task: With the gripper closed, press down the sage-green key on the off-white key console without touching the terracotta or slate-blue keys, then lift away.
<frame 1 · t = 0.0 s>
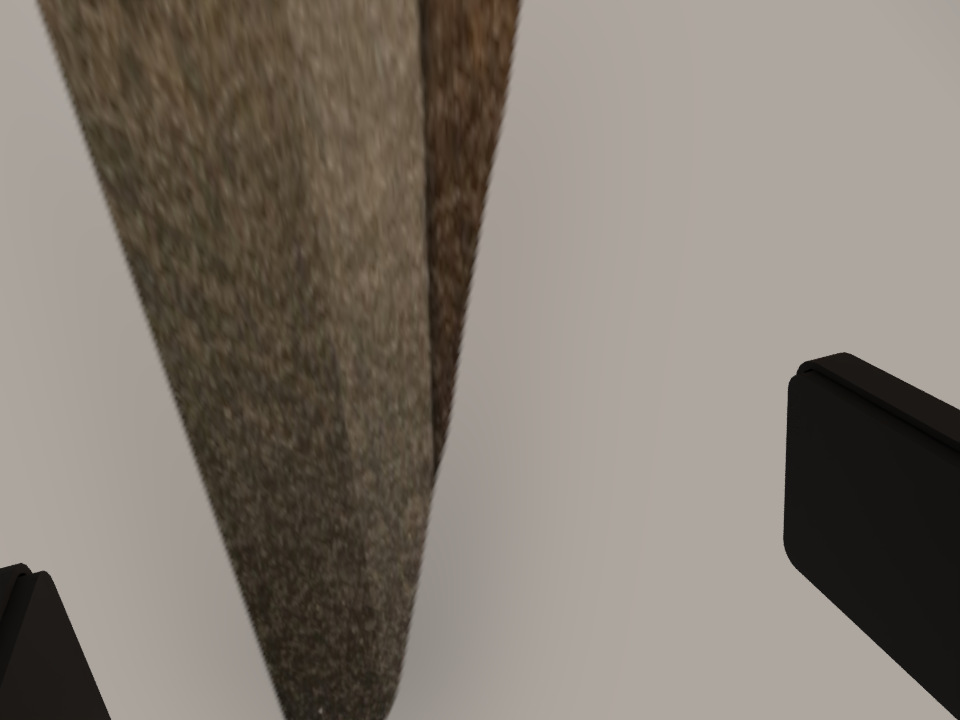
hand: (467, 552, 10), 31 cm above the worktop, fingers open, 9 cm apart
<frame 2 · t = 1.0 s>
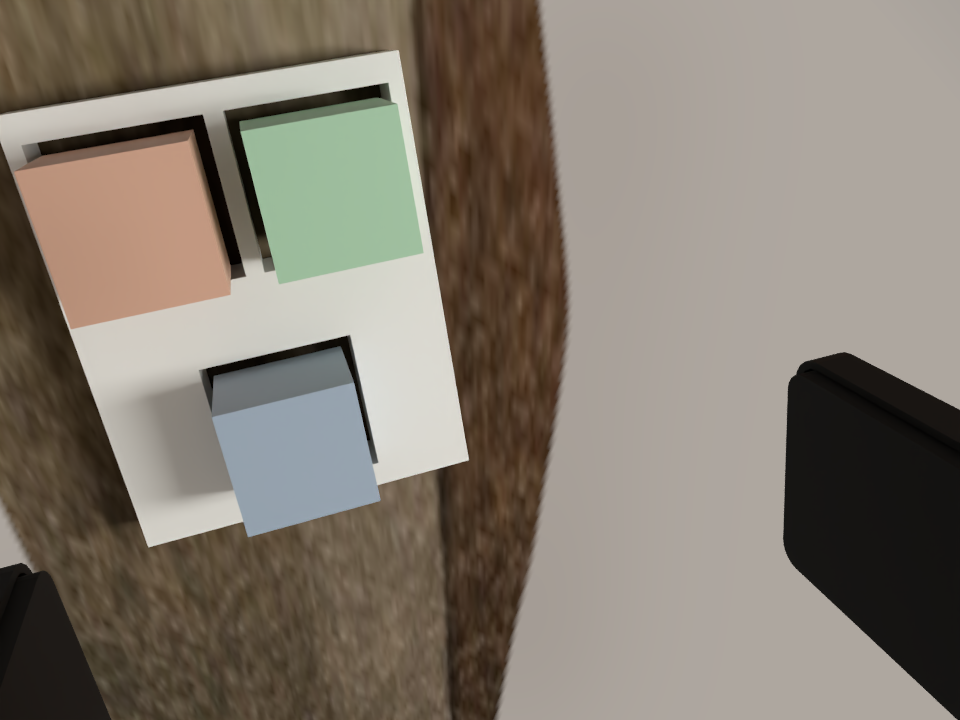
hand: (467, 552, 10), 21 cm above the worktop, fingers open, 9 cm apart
sage key: (330, 186, 25), point 4 cm above the worktop, slide at 0.0 cm
terracotta key: (135, 224, 24), point 4 cm above the worktop, slide at 0.0 cm
key console: (263, 297, 29), on the worktop
slate key: (296, 437, 28), point 4 cm above the worktop, slide at 0.0 cm
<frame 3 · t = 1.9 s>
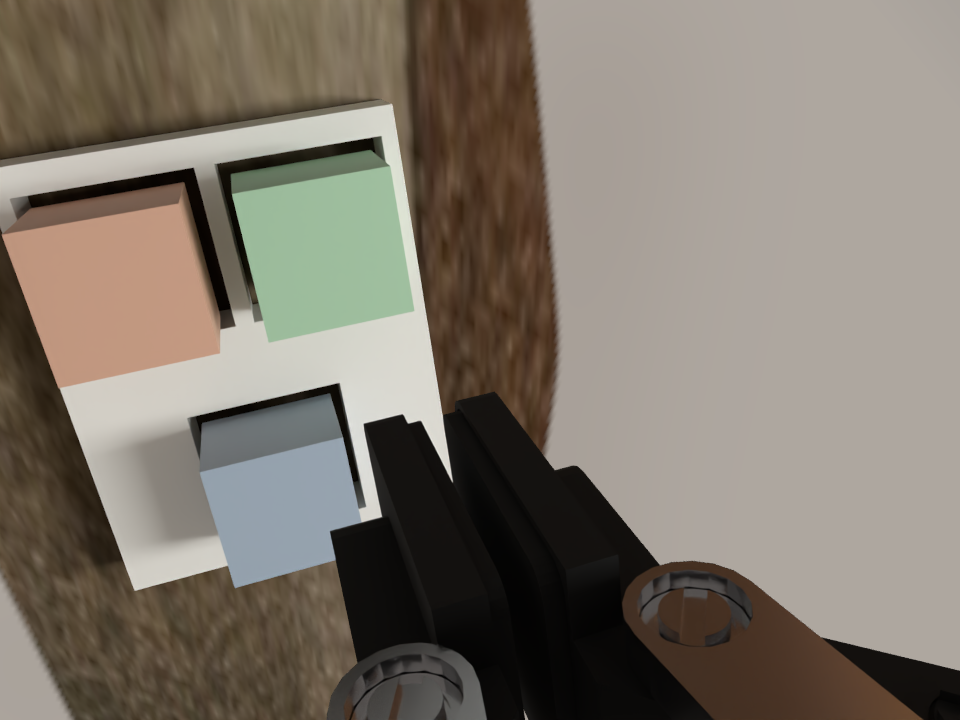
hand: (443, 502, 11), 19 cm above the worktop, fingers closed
sage key: (321, 241, 25), point 4 cm above the worktop, slide at 0.0 cm
terracotta key: (124, 280, 24), point 4 cm above the worktop, slide at 0.0 cm
key console: (253, 342, 29), on the worktop
slate key: (284, 486, 28), point 4 cm above the worktop, slide at 0.0 cm
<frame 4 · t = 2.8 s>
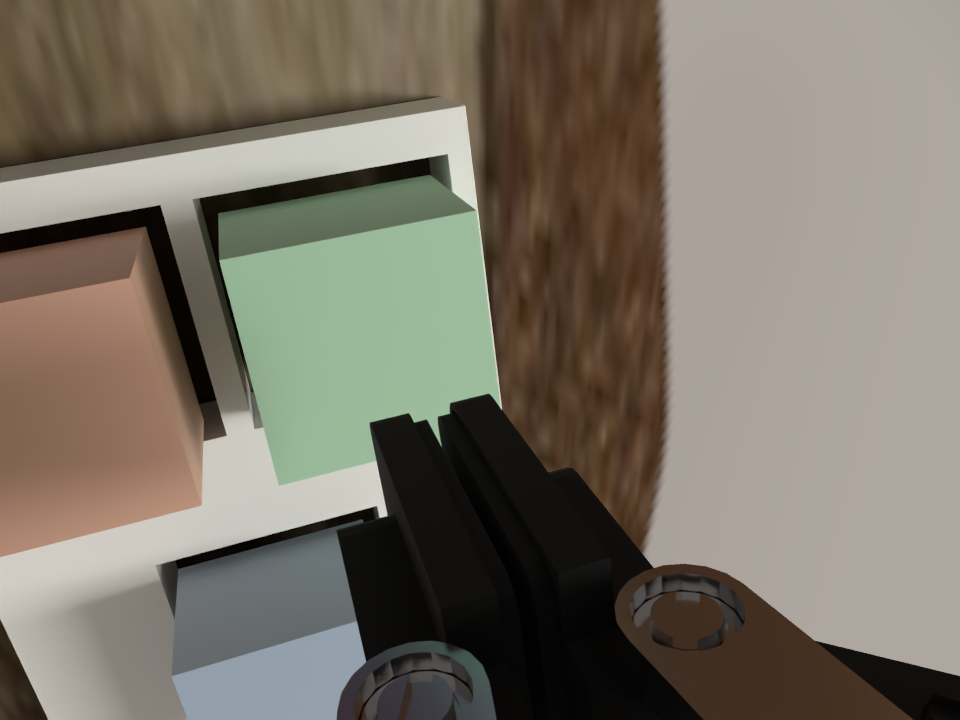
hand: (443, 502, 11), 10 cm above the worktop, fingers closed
sage key: (359, 319, 16), point 4 cm above the worktop, slide at 0.0 cm
terracotta key: (49, 387, 15), point 4 cm above the worktop, slide at 0.0 cm
key console: (251, 444, 20), on the worktop
slate key: (298, 662, 19), point 4 cm above the worktop, slide at 0.0 cm
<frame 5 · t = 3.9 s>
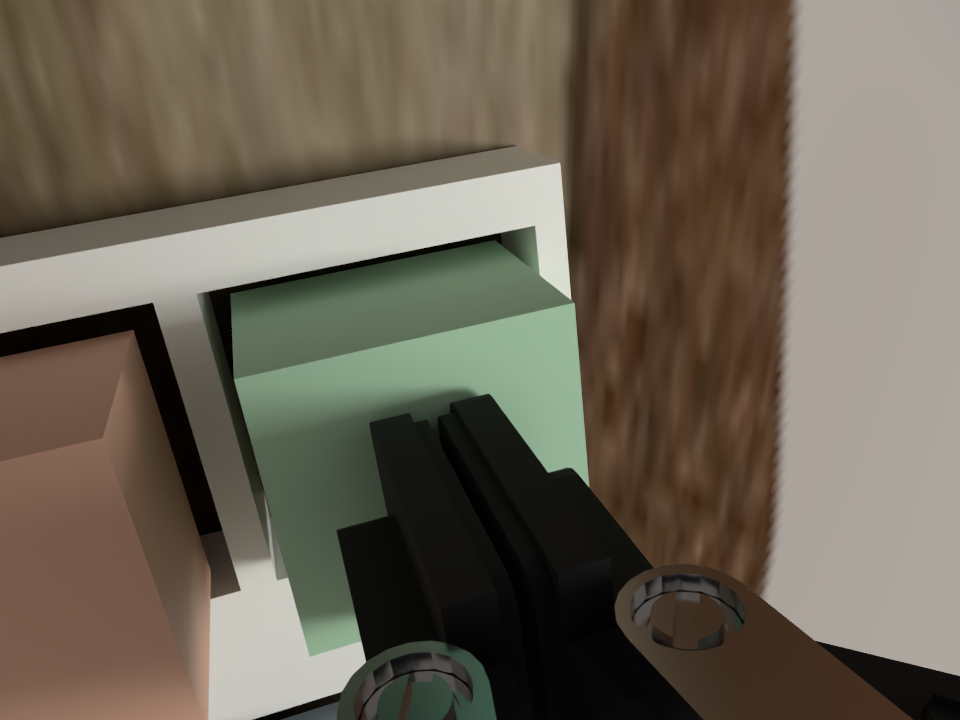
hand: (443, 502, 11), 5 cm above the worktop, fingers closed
sage key: (410, 430, 13), point 3 cm above the worktop, slide at 0.8 cm
key console: (271, 579, 16), on the worktop
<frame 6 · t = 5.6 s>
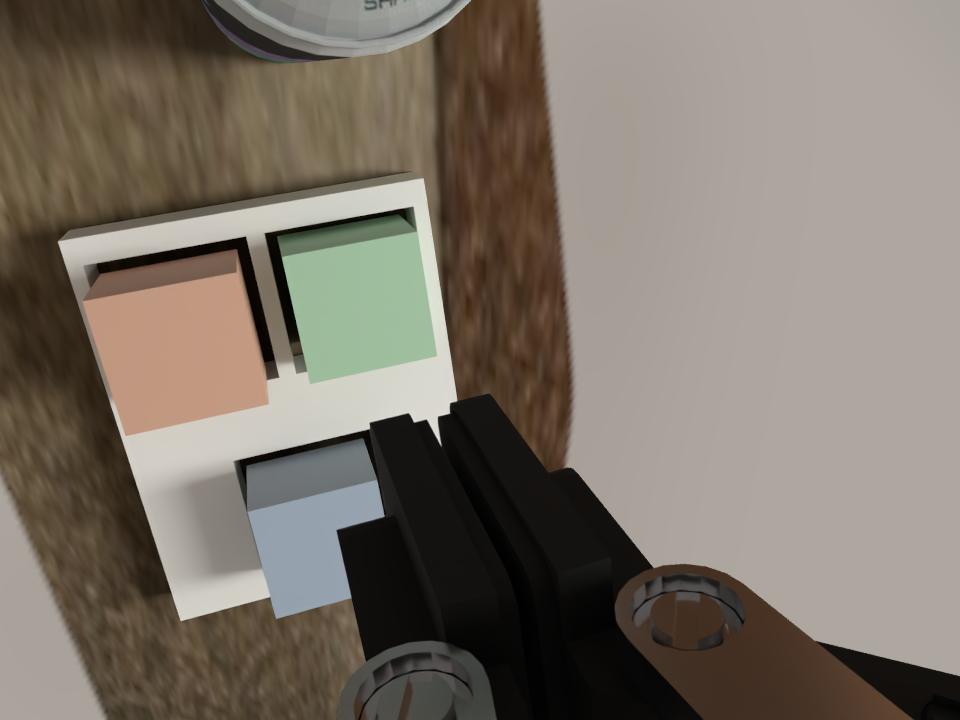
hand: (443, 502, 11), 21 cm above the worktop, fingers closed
sage key: (356, 295, 29), point 3 cm above the worktop, slide at 1.0 cm
terracotta key: (183, 338, 27), point 4 cm above the worktop, slide at 0.0 cm
key console: (292, 391, 32), on the worktop
slate key: (321, 524, 30), point 4 cm above the worktop, slide at 0.0 cm
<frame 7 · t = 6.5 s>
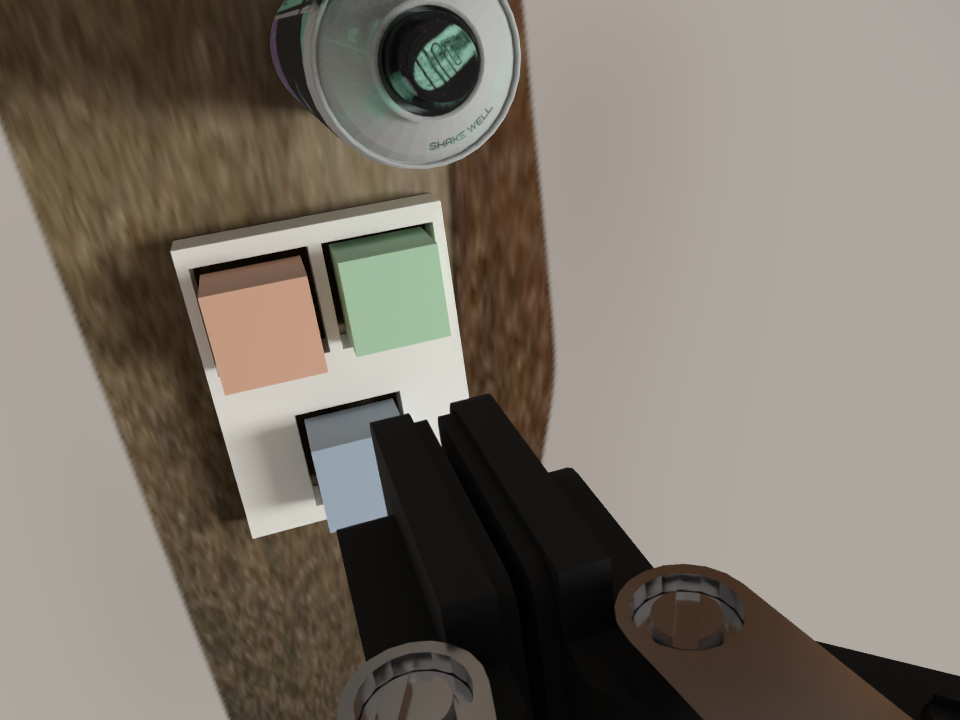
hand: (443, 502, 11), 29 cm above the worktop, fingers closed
spray can: (333, 48, 36), on the worktop
sage key: (389, 289, 38), point 3 cm above the worktop, slide at 1.0 cm
terracotta key: (263, 323, 36), point 4 cm above the worktop, slide at 0.0 cm
key console: (337, 362, 41), on the worktop
slate key: (362, 463, 39), point 4 cm above the worktop, slide at 0.0 cm
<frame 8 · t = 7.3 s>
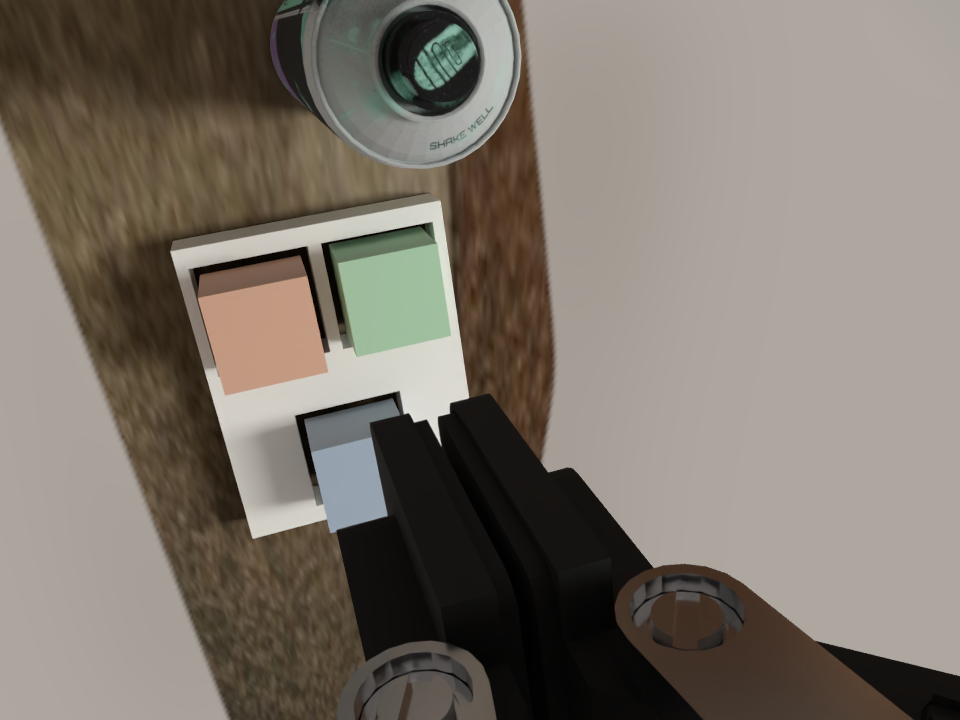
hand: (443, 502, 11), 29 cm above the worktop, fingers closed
spray can: (333, 48, 36), on the worktop
sage key: (389, 289, 38), point 3 cm above the worktop, slide at 1.0 cm
terracotta key: (263, 323, 36), point 4 cm above the worktop, slide at 0.0 cm
key console: (337, 362, 41), on the worktop
slate key: (362, 463, 39), point 4 cm above the worktop, slide at 0.0 cm
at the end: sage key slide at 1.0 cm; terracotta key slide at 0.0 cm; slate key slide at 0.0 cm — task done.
